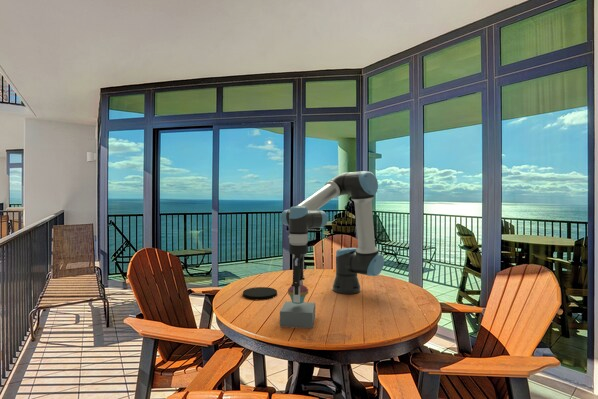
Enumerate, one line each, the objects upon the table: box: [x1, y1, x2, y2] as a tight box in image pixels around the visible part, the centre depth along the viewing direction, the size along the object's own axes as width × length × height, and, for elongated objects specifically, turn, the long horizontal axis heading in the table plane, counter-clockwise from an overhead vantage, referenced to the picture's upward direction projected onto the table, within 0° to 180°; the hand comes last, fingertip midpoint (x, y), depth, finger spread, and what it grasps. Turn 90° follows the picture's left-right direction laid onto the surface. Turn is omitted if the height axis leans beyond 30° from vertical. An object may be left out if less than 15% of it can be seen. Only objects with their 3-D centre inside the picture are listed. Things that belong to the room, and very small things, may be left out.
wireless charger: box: [242, 286, 278, 301], centre depth 179 cm, size 18×18×2 cm
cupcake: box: [287, 284, 309, 304], centre depth 141 cm, size 9×8×12 cm
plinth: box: [279, 300, 316, 329], centre depth 141 cm, size 13×13×6 cm
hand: (298, 298), depth 141 cm, fingers closed on cupcake, 8 cm apart
